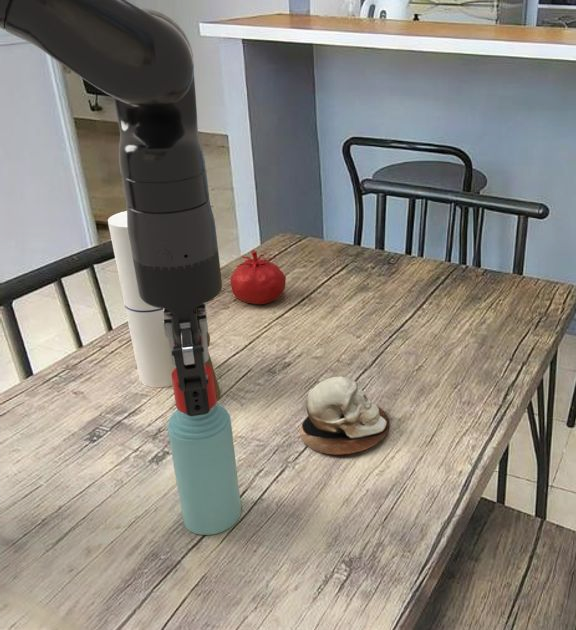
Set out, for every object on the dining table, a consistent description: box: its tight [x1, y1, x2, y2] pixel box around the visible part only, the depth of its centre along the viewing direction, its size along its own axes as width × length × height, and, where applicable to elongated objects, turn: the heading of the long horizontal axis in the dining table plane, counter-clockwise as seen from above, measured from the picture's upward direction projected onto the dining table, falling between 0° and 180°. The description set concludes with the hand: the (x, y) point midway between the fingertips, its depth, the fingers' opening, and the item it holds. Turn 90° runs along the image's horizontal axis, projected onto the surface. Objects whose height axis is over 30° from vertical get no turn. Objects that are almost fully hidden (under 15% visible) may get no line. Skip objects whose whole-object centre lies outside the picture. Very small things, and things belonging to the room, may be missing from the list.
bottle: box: [166, 402, 242, 536], centre depth 74 cm, size 6×6×18 cm
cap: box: [171, 363, 217, 414], centre depth 70 cm, size 4×4×4 cm
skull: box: [299, 375, 391, 455], centre depth 92 cm, size 12×10×10 cm
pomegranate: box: [230, 250, 287, 305], centre depth 125 cm, size 10×10×9 cm
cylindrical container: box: [107, 210, 176, 389], centre depth 97 cm, size 7×7×25 cm
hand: (197, 400), depth 71 cm, fingers closed on cap, 4 cm apart
